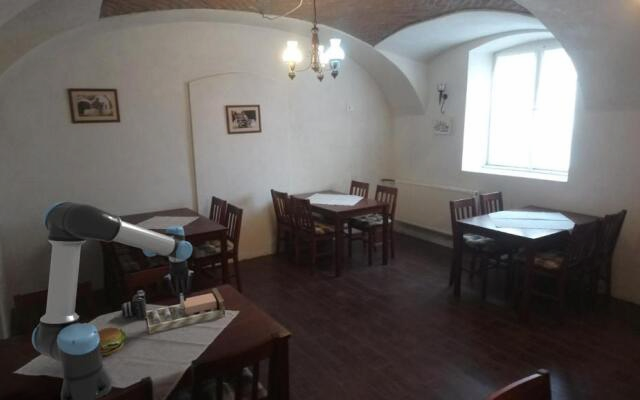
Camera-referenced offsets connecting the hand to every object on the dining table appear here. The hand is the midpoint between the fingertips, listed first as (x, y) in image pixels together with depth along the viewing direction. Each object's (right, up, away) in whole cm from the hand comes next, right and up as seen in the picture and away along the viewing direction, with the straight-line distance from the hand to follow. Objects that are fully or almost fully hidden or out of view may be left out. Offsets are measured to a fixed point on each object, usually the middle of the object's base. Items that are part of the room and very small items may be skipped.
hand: (182, 307), depth 192 cm
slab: (+7, -1, +3) cm, 8 cm away
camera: (-24, -5, +6) cm, 26 cm away
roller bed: (+1, -5, +1) cm, 5 cm away
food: (-22, -11, -24) cm, 34 cm away
